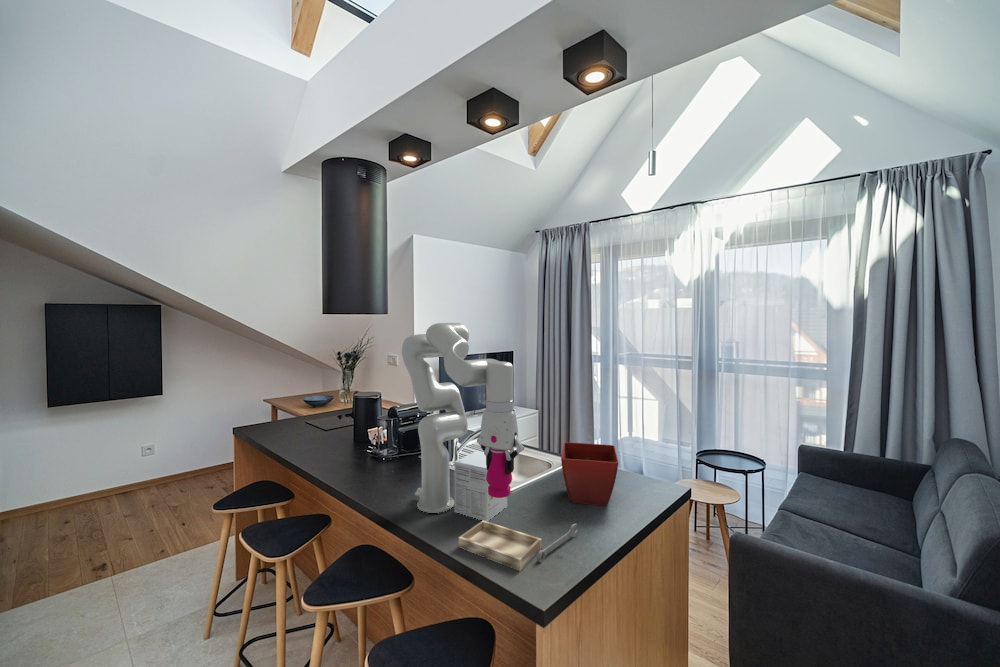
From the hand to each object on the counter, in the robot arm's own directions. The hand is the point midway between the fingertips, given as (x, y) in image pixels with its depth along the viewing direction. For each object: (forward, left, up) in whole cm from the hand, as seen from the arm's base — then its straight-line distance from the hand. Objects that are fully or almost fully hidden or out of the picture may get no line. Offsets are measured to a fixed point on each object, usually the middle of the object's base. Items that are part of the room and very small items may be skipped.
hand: (499, 470), depth 116 cm
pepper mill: (0, 0, -7) cm, 7 cm away
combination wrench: (+14, +10, -23) cm, 28 cm away
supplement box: (-18, +16, -23) cm, 33 cm away
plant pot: (+9, +45, -23) cm, 52 cm away
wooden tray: (0, 0, -22) cm, 22 cm away
